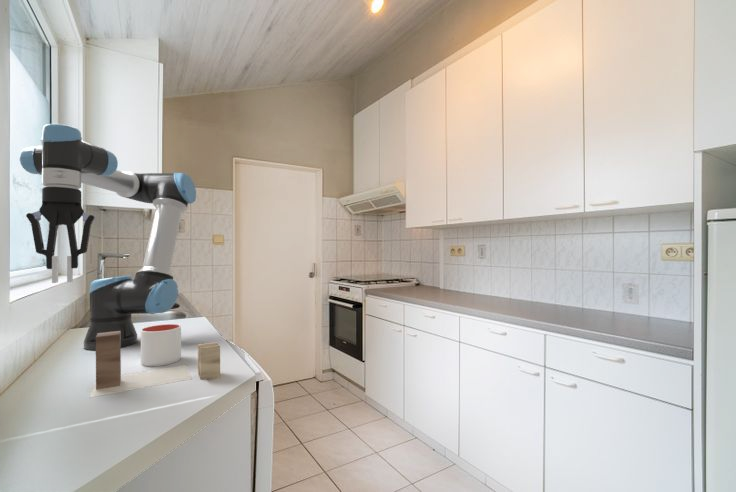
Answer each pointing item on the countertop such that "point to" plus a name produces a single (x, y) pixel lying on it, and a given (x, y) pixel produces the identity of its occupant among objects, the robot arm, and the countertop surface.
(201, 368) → the beech block
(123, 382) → the board
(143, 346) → the cup
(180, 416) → the countertop surface
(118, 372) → the walnut block
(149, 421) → the countertop surface
